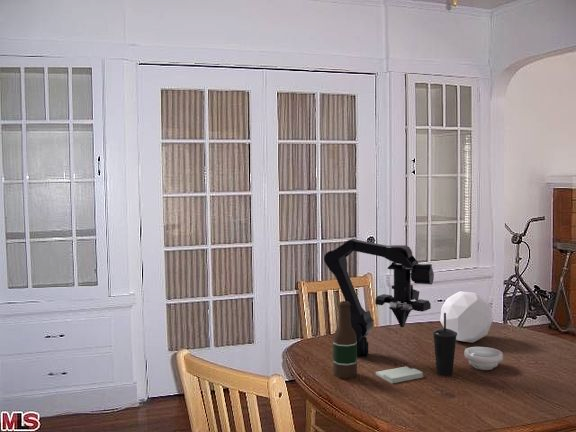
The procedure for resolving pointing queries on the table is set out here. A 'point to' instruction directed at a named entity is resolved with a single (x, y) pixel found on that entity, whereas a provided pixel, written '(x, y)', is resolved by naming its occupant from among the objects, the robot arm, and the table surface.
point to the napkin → (400, 374)
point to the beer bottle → (344, 345)
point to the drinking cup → (444, 349)
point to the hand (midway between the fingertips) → (402, 327)
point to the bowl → (483, 357)
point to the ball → (467, 316)
